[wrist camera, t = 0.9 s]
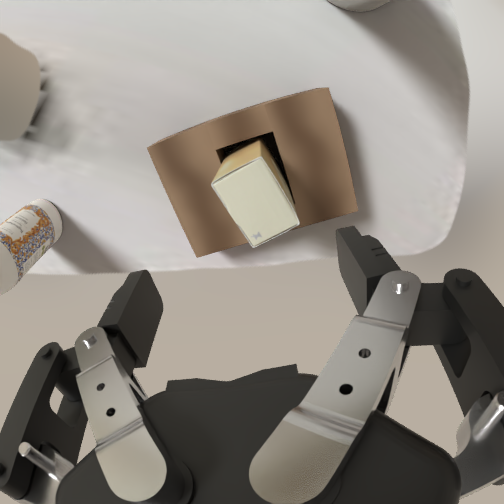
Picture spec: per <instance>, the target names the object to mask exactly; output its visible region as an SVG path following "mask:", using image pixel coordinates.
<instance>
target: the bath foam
mask: <svg viewBox="0 0 504 504" xmlns="http://www.w3.org/2000/svg"><path fill="white" fill-rule="evenodd" d="M61 233H62V220H61V216H60V214H59V212H58V210H57V209H56V207H55V206H54V205H53V204H52V203H50V202H49V201H47V200H44V199H36V200H34V201H32V202H31V203H29V204H28V205H26V206H25V207H23V208H22V209H20V210H19V211H18V212H16V213H15V214H14V215H12V216H11V217H10V218H8V219H7V220H6V221H4V222H3V223H2V224H1V225H0V295H2V294H4V293H6V292H8V291H9V290H10V289H12V288H13V287H14V286H15V285H16V284H17V283H18V281H20V279H21V278H22V277H23V276H24V275H25V274H26V273H27V272H28V271H29V269H30V268H31V267H32V266H33V265H34V264H35V263H36V262H37V261H38V260H39V259H40V258H41V257H42V256H43V255H44V254H45V252H46V251H47V250H48V249H49V248H50V247H51V246H52V245H53V244H54V243H55V242H56V241H57V240H58V239H59V238H60V236H61Z"/></svg>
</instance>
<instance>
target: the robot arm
mask: <svg viewBox="0 0 504 504" xmlns="http://www.w3.org/2000/svg"><path fill="white" fill-rule="evenodd" d="M327 1H329V2H331V3H332V4H334V5H336V6H338V7H340V8H343V9H346V10H350V11H357V12H365V11H370V10H374V9H376V8H378V7H380V6H382V5H383V4H385V3H387V2H389V1H391V0H327ZM336 240H337V250H338V261H339V268H340V272H341V275H342V278H343V280H344V283H345V285H346V287H347V289H348V291H349V294H350V296H351V298H352V300H353V302H354V305H355V307H356V309H357V311H358V314H359V315H356V316H355V317H354V318H353V320H352V321H351V323H350V324H349V326H348V328H347V330H346V332H345V333H344V335H343V337H342V339H341V340H340V342H339V344H338V345H337V347H336V349H335V350H334V352H333V354H332V356H331V357H330V359H329V360H328V362H327V364H326V365H325V367H324V368H323V370H322V372H321V373H320V375H319V376H317V375H313V374H301V373H298V370H297V365H296V364H293V365H287V366H282V367H276V368H271V369H264V370H261V371H258V372H255V373H252V374H250V375H247V376H244V377H241V378H238V379H235V380H232V381H227V382H226V381H216V380H206V379H198V378H195V379H183V380H171V381H168V383H167V387H166V391H163V392H160V393H157V394H155V395H153V396H152V397H150V398H148V396H147V395H146V393H145V391H144V390H143V388H142V386H141V384H140V382H139V381H138V379H137V377H136V376H135V374H134V373H133V369H134V368H140V367H141V368H142V367H146V364H147V360H148V357H149V354H150V351H151V347H152V343H153V341H154V337H155V334H156V331H157V328H158V325H159V322H160V319H161V316H162V312H163V303H162V299H161V296H160V294H159V292H158V290H157V288H156V286H155V284H154V282H153V280H152V277H151V275H150V273H149V272H148V271H147V270H141V271H136V272H132V273H130V274H129V275H128V277H127V279H126V281H125V283H124V284H123V286H121V287H120V289H119V290H117V292H116V293H115V294H114V296H113V297H112V300H111V302H110V303H109V305H108V306H107V309H106V310H105V312H104V314H103V316H102V318H101V320H100V321H99V323H98V325H97V327H92V328H89V329H87V330H86V331H84V332H83V333H82V334H81V335H80V336H79V337H78V338H77V340H76V342H75V347H73V348H70V349H67V350H64V351H63V350H62V348H61V347H60V346H59V344H58V343H56V342H52V343H48V344H47V345H45V346H44V347H42V348H41V349H40V350H39V352H38V353H37V354H36V356H35V358H34V360H33V362H32V364H31V366H30V368H29V370H28V372H27V374H26V376H25V378H24V380H23V382H22V384H21V386H20V388H19V390H18V392H17V395H16V397H15V399H14V401H13V404H12V406H11V408H10V410H9V413H8V415H7V418H6V420H5V422H4V425H3V427H2V430H1V433H0V491H2V492H4V493H5V494H7V495H8V496H10V497H11V498H12V499H13V500H15V501H17V502H19V503H20V504H458V503H459V500H460V499H462V498H464V497H467V496H469V495H471V494H473V493H475V492H477V491H479V490H481V489H483V488H485V487H487V486H489V485H491V484H493V485H502V484H504V307H503V306H502V304H501V303H500V302H499V300H498V299H497V298H496V297H495V296H494V294H493V293H492V292H491V290H490V289H489V288H488V287H487V286H486V284H485V283H484V282H483V281H482V279H481V278H480V277H479V276H478V275H477V274H476V273H474V272H472V271H470V270H467V269H453V270H450V271H449V272H447V273H446V274H445V276H444V282H443V283H421V281H420V279H419V278H418V277H417V276H416V275H415V274H413V273H411V272H408V271H402V270H401V269H400V268H399V266H398V265H397V264H396V262H395V261H394V260H393V258H392V257H391V256H390V254H388V252H387V251H386V249H385V248H383V245H382V244H381V243H380V242H379V240H377V239H375V238H374V237H372V236H370V235H366V236H361V234H360V233H359V232H358V230H357V229H356V228H355V226H350V227H346V228H341V229H337V230H336ZM419 345H420V346H421V345H433V346H434V348H435V350H436V352H437V354H438V356H439V358H440V360H441V363H442V365H443V367H444V369H445V371H446V373H447V376H448V378H449V380H450V383H451V385H452V387H453V390H454V392H455V394H456V397H457V399H458V402H459V404H460V406H461V409H462V411H463V414H464V417H465V418H464V419H463V421H462V422H461V424H460V426H459V428H458V431H457V435H456V438H457V445H458V447H457V448H458V450H457V454H456V457H455V458H452V457H451V456H450V454H449V453H447V452H446V451H445V450H444V449H442V448H441V447H439V446H437V445H435V444H434V443H432V442H430V441H428V440H427V439H425V438H423V437H422V436H420V435H418V434H416V433H415V432H413V431H411V430H410V429H408V428H407V427H405V426H403V425H402V424H400V423H398V422H397V421H395V420H393V419H392V418H390V417H389V416H387V415H386V414H387V412H388V410H389V407H390V405H391V402H392V399H393V396H394V393H395V390H396V387H397V385H398V382H399V379H400V377H401V374H402V371H403V369H404V366H405V363H406V360H407V358H408V355H409V352H410V349H411V346H419ZM54 387H56V388H57V389H58V390H59V391H60V392H61V393H62V394H63V395H64V396H63V399H62V401H61V404H60V407H59V410H58V413H57V414H55V413H54V412H53V411H52V409H51V407H50V403H49V401H50V397H51V394H52V392H53V389H54ZM88 420H89V423H90V426H91V428H92V431H93V434H94V437H95V440H96V443H97V446H96V447H95V448H94V449H93V450H92V451H91V452H90V453H89V454H88V455H86V456H85V457H84V458H83V459H82V460H81V461H80V462H79V463H78V464H77V460H78V456H79V451H80V447H81V443H82V440H83V436H84V432H85V428H86V424H87V421H88ZM76 464H77V465H76Z"/></svg>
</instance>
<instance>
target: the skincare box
mask: <svg viewBox="0 0 504 504" xmlns="http://www.w3.org/2000/svg"><path fill="white" fill-rule="evenodd" d="M211 186H212V188H213V189H214V191H215V192H216V194H217V195H218V197H219V198H220V200H221V201H222V203H223V204H224V206H225V207H226V209H227V211H228V212H229V214H230V215H231V217H232V218H233V220H234V221H235V223H236V224H237V225H238V227H239V228H240V230H241V231H242V233H243V234H244V236H245V237H246V239H247V240H248V242H249V243H250V245H251V246H252V247H253V248H255V247H257V246H259V245H261V244H263V243H265V242H267V241H269V240H271V239H273V238H275V237H277V236H279V235H281V234H283V233H285V232H287V231H289V230H291V229H292V228H294V227H296V226H298V225H299V224H300V222H299V219H298V216H297V213H296V210H295V207H294V203H293V200H292V197H291V194H290V191H289V188H288V184H287V181H286V179H285V177H284V175H283V173H282V171H281V169H280V167H279V165H278V164H277V162H276V160H275V158H274V156H273V155H272V153H271V152H270V150H269V148H268V147H267V145H266V144H265V142H264V141H263V139H262V137H261V136H260V135H259V136H257V137H255V138H253V139H251V140H249V141H247V142H245V143H244V144H242V145H240V146H238V147H236V148H235V149H233V150H231V151H230V152H228V153H227V155H226V157H225V159H224V160H223V162H222V164H221V166H220V168H219V170H218V172H217V174H216V176H215V177H214V179H213V181H212V183H211Z"/></svg>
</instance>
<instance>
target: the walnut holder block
mask: <svg viewBox="0 0 504 504" xmlns="http://www.w3.org/2000/svg"><path fill="white" fill-rule="evenodd" d="M269 132H272V133H273V136H274V139H275V142H276V145H277V148H278V151H279V155H280V158H281V161H282V164H283V167H284V171H285V174H286V177H287V180H288V184H289V187H290V190H289V191H290V194H291V197H292V200H293V203H294V207H295V210H296V213H297V216H298V219H299V222H300V224H299V225H298V226H296V227H294V228H292V229H291V230H293V229H297V228H300V227H304V226H307V225H311V224H314V223H318V222H321V221H325V220H328V219H332V218H335V217H339V216H342V215H346V214H349V213H353V212H356V211H358V208H357V202H356V197H355V192H354V187H353V182H352V177H351V173H350V168H349V164H348V159H347V155H346V151H345V146H344V142H343V138H342V134H341V130H340V127H339V123H338V119H337V115H336V112H335V108H334V105H333V101H332V98H331V94H330V91H329V88H316V89H312V90H308V91H304V92H300V93H296V94H292V95H288V96H284V97H281V98H277V99H274V100H270V101H267V102H263V103H260V104H257V105H254V106H250V107H247V108H244V109H241V110H238V111H235V112H232V113H229V114H226V115H223V116H220V117H218V118H215V119H212V120H209V121H207V122H204V123H201V124H199V125H196V126H194V127H191V128H188V129H186V130H183V131H181V132H178V133H176V134H174V135H171V136H169V137H166V138H164V139H162V140H160V141H158V142H156V143H155V144H153V145H151V146H149V147H148V148H147V149H148V152H149V154H150V156H151V159H152V161H153V163H154V166H155V168H156V170H157V172H158V175H159V177H160V179H161V182H162V184H163V186H164V188H165V191H166V193H167V195H168V197H169V199H170V202H171V204H172V206H173V208H174V210H175V213H176V215H177V217H178V219H179V221H180V223H181V226H182V228H183V230H184V232H185V234H186V236H187V238H188V240H189V242H190V245H191V247H192V249H193V251H194V253H195V255H196V257H197V258H198V257H201V256H205V255H208V254H211V253H215V252H218V251H222V250H225V249H228V248H232V247H235V246H239V245H242V244H245V243H249V242H248V240H247V239H246V237H245V236H244V234H243V233H242V231H241V230H240V228H239V227H238V225H237V224H236V223H235V221H234V220H233V218H232V217H231V215H230V214H229V212H228V211H227V209H226V207H225V206H224V204H223V203H222V201H221V200H220V198H219V197H218V195H217V194H216V192H215V191H214V189H213V188H212V186H211V183H212V181H213V179H214V177H215V176H216V174H217V172H218V170H219V168H220V166H221V164H222V162H223V160H224V159H225V157H226V156H225V153H224V151H223V147H226V146H228V145H231V144H234V143H237V142H240V141H243V140H247V139H250V138H253V137H256V136H259V135H262V134H266V133H269ZM289 231H290V230H289Z"/></svg>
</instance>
